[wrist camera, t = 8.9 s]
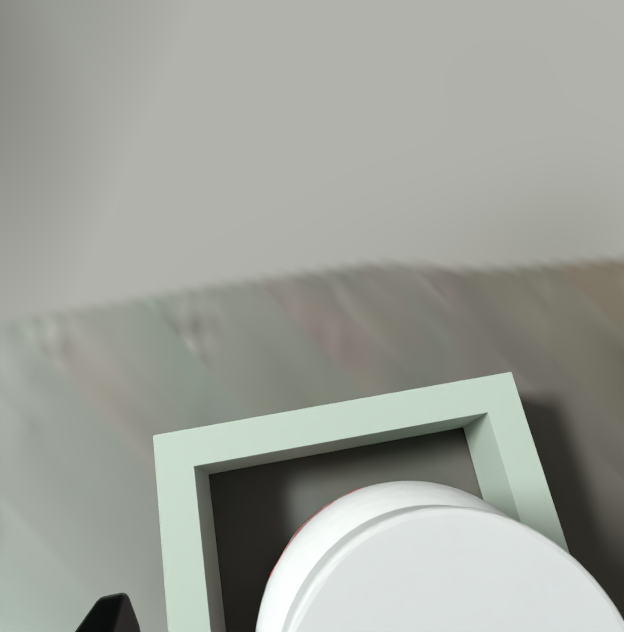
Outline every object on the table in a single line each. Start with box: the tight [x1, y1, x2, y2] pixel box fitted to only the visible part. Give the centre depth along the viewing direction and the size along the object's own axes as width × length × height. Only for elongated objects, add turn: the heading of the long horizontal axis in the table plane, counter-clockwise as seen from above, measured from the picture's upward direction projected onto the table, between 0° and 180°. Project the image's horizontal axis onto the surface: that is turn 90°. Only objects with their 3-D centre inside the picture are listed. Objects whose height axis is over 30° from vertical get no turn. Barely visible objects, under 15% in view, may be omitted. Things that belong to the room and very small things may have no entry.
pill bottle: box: [256, 481, 624, 632], centre depth 11 cm, size 6×6×10 cm
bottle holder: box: [153, 372, 570, 632], centre depth 15 cm, size 10×10×2 cm
